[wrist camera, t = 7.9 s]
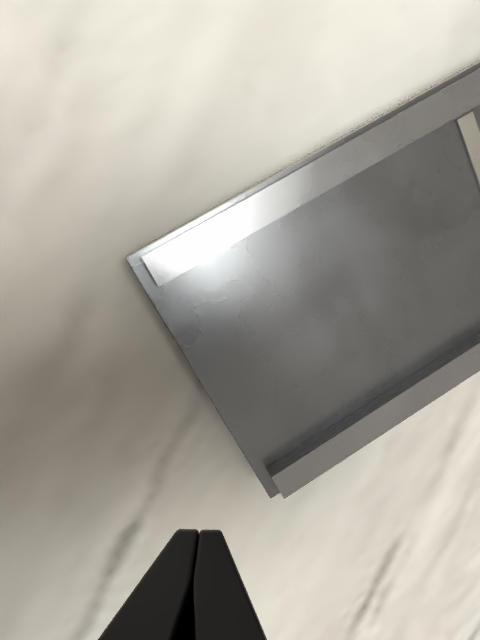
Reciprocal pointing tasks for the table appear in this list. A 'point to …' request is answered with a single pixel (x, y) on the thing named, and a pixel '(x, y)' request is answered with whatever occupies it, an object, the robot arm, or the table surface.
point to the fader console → (334, 287)
